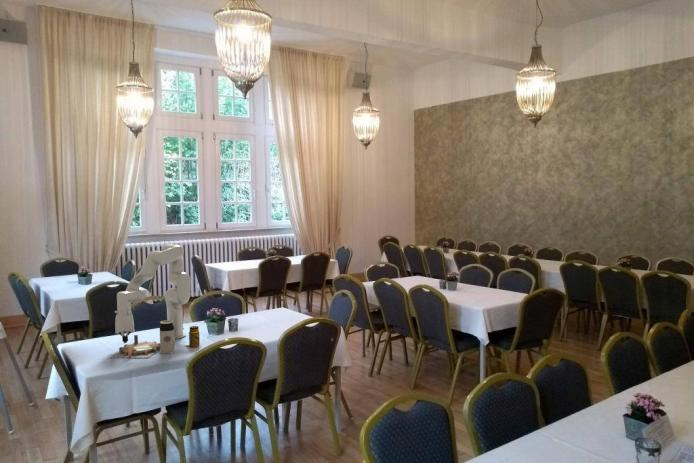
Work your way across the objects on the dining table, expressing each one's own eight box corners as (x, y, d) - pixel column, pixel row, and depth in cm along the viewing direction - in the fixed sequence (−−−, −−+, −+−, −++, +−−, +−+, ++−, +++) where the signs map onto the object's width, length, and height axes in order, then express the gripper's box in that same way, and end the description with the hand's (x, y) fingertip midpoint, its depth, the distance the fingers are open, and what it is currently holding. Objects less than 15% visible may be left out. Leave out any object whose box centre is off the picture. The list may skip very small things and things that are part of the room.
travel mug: (162, 350, 321) (161, 320, 320) (176, 349, 322) (175, 319, 320) (158, 354, 313) (157, 323, 312) (172, 353, 314) (171, 322, 313)
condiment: (201, 346, 328) (201, 327, 327) (187, 349, 323) (187, 329, 323) (197, 344, 334) (197, 324, 333) (184, 346, 330) (183, 326, 329)
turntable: (114, 348, 323) (113, 337, 322) (154, 341, 337) (153, 331, 336) (125, 357, 304) (124, 345, 303) (167, 350, 318) (166, 339, 318)
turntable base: (131, 345, 332) (130, 336, 332) (166, 345, 331) (166, 336, 331) (109, 358, 306) (109, 348, 306) (148, 358, 305) (147, 348, 304)
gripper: (109, 314, 318) (110, 345, 319) (137, 312, 322) (138, 343, 324) (111, 311, 325) (112, 342, 326) (138, 310, 330) (139, 340, 331)
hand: (125, 342), depth 325 cm, fingers closed
